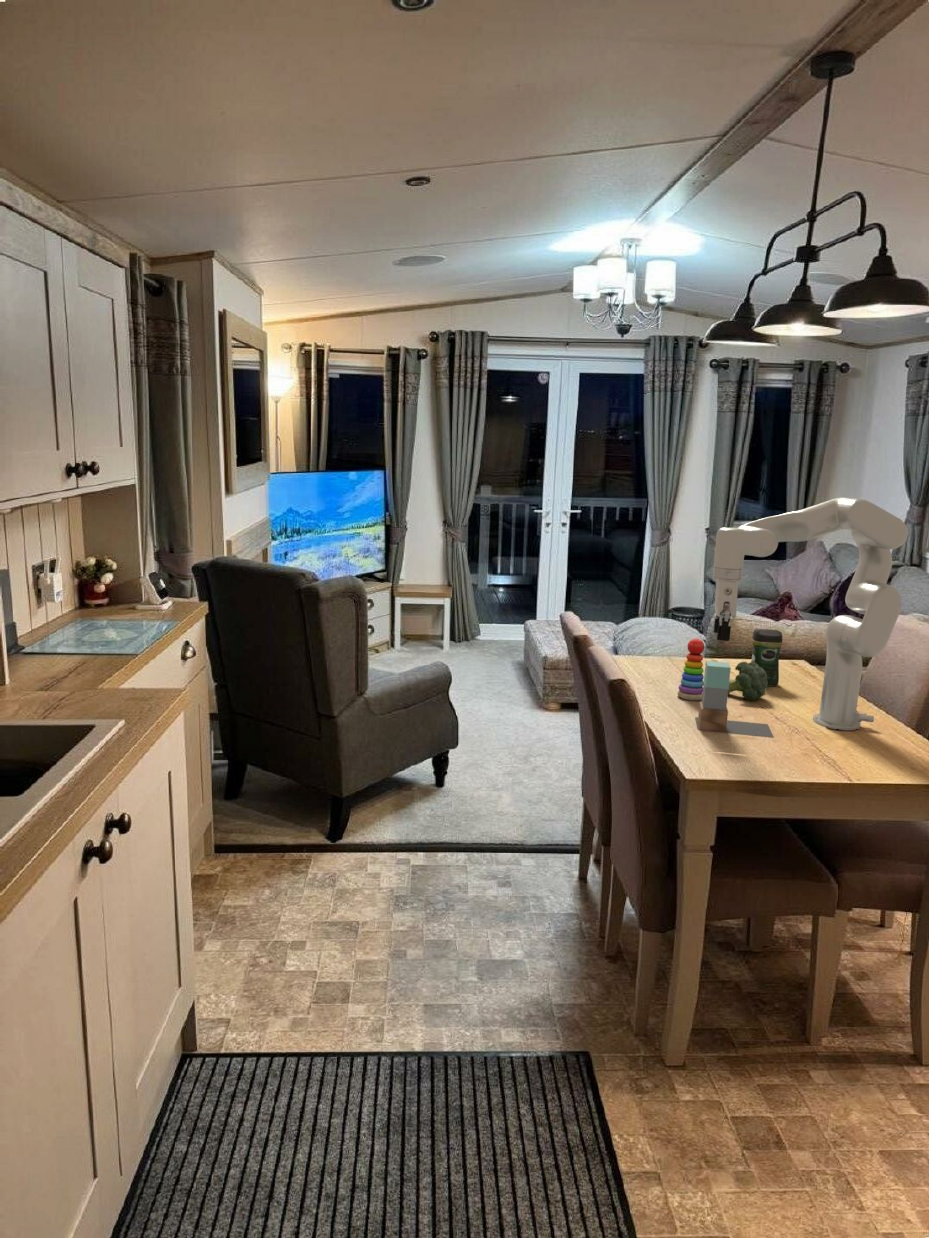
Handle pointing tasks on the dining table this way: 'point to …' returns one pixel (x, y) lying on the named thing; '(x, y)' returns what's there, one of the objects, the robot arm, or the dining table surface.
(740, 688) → the vegetable
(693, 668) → the stacking toy
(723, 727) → the tower base
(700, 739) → the dining table surface
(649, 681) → the dining table surface
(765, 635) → the coffee jar
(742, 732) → the mat
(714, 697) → the tower mid
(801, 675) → the dining table surface
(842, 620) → the robot arm
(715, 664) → the teal cube
